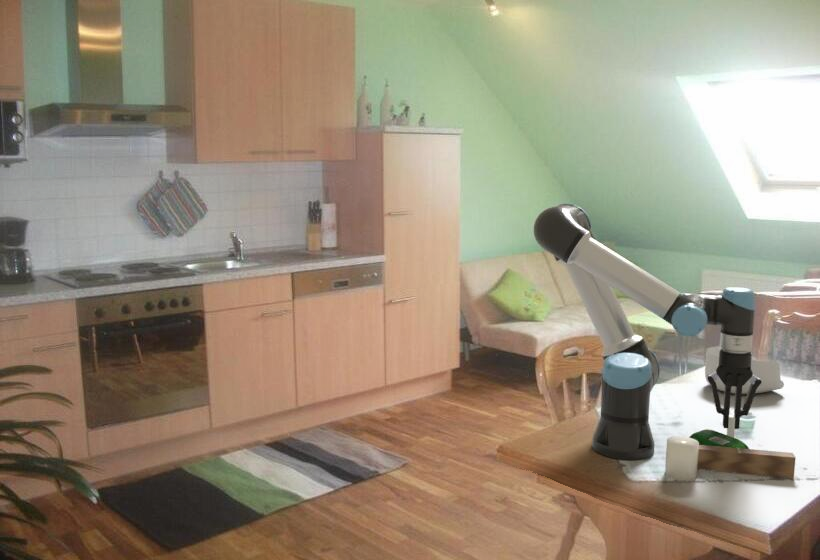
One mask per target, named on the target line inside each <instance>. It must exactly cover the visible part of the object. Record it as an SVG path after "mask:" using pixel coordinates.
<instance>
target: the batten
mask: <svg viewBox="0 0 820 560" xmlns="http://www.w3.org/2000/svg"><path fill="white" fill-rule="evenodd" d="M795 467H796V456H795V454H794V453H793V452H788V451H787V452H786V451H775V450H774V451H773V450H766V449H765V450H764V449H752V448H749V449H742V448H738V447H736V448H731V447H719V446H708V445H699V449H698V465H697V470H700V469H705V470H704V471H710V470H715V471H714V472H721V471H725V472H724V473H732V472H735V473H734V474H742V475H743V474H745V475H752V476H753V475H757V476H764V477H765V476H767V477H774V478H775V477H776V478H786V479H787V478H788V479H794V478H795V471H796V470H795V469H796V468H795Z"/></svg>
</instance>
